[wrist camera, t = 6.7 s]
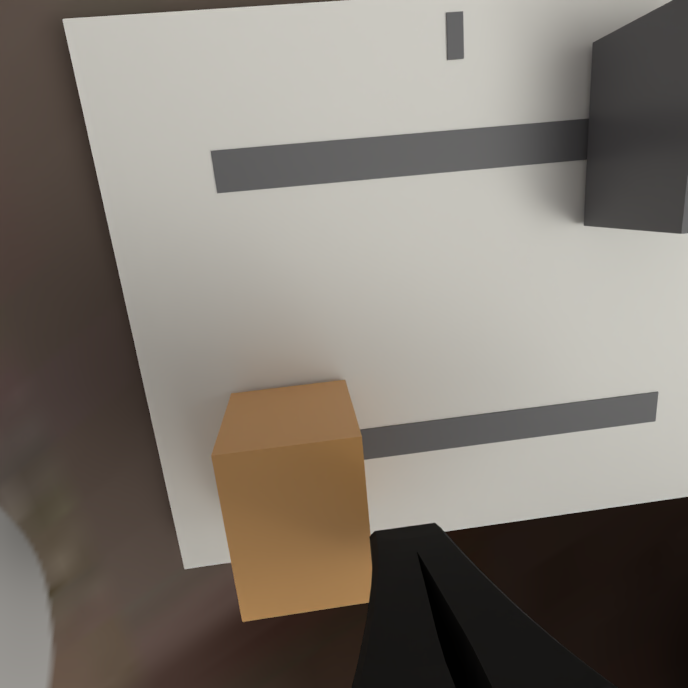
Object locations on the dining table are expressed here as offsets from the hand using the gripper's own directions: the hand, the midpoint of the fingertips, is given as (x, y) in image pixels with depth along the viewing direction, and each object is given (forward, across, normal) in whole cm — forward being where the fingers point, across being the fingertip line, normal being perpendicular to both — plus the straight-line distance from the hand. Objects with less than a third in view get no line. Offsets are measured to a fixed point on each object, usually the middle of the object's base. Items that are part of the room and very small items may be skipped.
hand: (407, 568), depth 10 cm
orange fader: (+5, +2, 0) cm, 5 cm away
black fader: (+5, -8, -8) cm, 12 cm away
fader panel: (+7, -3, -4) cm, 8 cm away
